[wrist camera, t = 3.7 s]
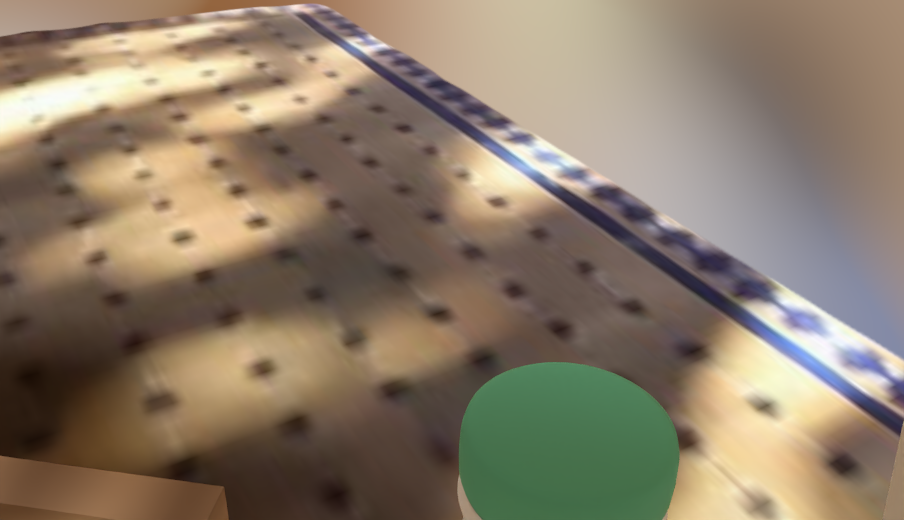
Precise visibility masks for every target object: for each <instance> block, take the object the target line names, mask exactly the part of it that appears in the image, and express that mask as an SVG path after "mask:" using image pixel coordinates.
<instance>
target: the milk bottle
mask: <svg viewBox="0 0 904 520" xmlns="http://www.w3.org/2000/svg"><path fill="white" fill-rule="evenodd" d="M678 465H679V446H678V439H677V434H676V430H675V428H674V425H673V423H672V421H671V419H670V417H669V416H668V414H667V413H666V411H665V410H664V409H663V407H662V406H661V405H660V404H659V403H658V402H657V401H656V400H655V399H654V398H653V397H652V396H651V395H650V394H648V393H647V392H646V391H644V390H643V389H642V388H640V387H639V386H637V385H635V384H634V383H632V382H630V381H629V380H627V379H625V378H623V377H621V376H618V375H616V374H614V373H611V372H608V371H606V370H603V369H599V368H596V367H592V366H587V365H582V364H576V363H565V362H547V363H537V364H531V365H526V366H521V367H518V368H514V369H511V370H509V371H506V372H504V373H502V374H500V375H498V376H496V377H494V378H493V379H491V380H490V381H488V382H487V383H486V384H484V385H483V386H482V387H481V388H480V389H479V390H478V391H477V392H476V394H475V395H474V396H473V398H472V399H471V401H470V403H469V405H468V407H467V410H466V412H465V414H464V417H463V420H462V426H461V433H460V442H459V472H460V475H459V479H458V490H457V492H458V500H459V505H460V508H461V511H462V514H463V516H464V517H463V519H462V520H667V510H668V508H669V505H670V502H671V498H672V495H673V491H674V488H675V484H676V478H677V472H678Z"/></svg>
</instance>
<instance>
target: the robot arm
mask: <svg viewBox="0 0 904 520" xmlns="http://www.w3.org/2000/svg"><path fill="white" fill-rule="evenodd" d="M883 520H904V422H903V427H902V431H901V436H900V441H899V445H898V450H897V454H896V459H895V464H894V468H893V473H892V478H891V482H890V487H889V492H888V496H887V501H886V506H885V510H884V515H883Z"/></svg>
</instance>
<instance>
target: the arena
mask: <svg viewBox="0 0 904 520" xmlns="http://www.w3.org/2000/svg"><path fill="white" fill-rule="evenodd" d="M0 520H229V517H228V510H227V503H226V496H225V489H224V487H222V486H215V485H208V484H201V483H193V482H186V481H179V480H172V479H164V478H157V477H150V476H143V475H135V474H128V473H121V472H114V471H106V470H99V469H92V468H85V467H77V466H70V465H63V464H56V463H48V462H41V461H34V460H27V459H19V458H12V457H5V456H0Z"/></svg>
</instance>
